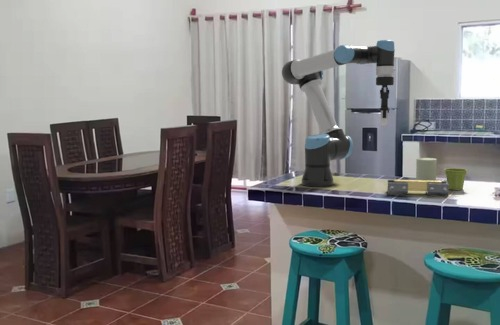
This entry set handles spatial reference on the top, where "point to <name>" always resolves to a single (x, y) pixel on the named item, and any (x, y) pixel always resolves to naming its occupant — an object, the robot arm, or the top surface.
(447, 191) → the chain end right
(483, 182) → the top surface
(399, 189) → the chain end left
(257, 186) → the top surface
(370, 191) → the top surface
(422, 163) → the can
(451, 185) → the plant pot
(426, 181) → the yellow wooden bar
